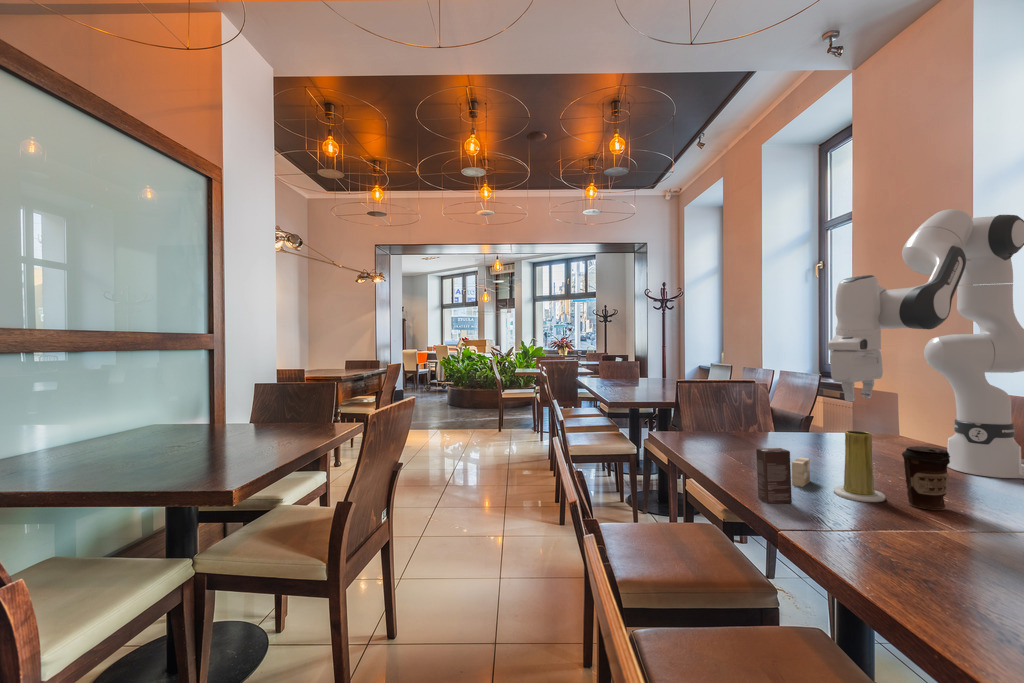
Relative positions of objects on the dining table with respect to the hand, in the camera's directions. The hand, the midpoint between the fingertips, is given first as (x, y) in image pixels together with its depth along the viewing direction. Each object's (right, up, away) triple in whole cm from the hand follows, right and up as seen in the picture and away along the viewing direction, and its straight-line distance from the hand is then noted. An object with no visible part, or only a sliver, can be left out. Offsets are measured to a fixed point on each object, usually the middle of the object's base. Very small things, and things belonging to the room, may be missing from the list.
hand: (858, 399), depth 114 cm
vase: (0, -22, -1) cm, 22 cm away
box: (-23, -24, -4) cm, 33 cm away
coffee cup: (+9, -23, -9) cm, 26 cm away
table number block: (-8, -23, +10) cm, 27 cm away
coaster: (0, -23, -1) cm, 23 cm away
